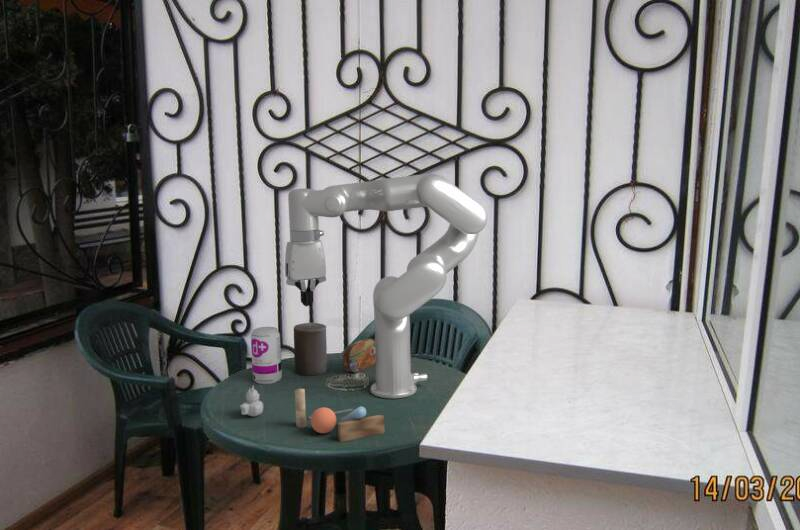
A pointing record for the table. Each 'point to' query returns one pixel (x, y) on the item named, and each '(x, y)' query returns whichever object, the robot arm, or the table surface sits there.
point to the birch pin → (300, 408)
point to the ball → (323, 420)
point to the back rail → (361, 428)
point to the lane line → (339, 412)
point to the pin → (355, 414)
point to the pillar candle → (310, 349)
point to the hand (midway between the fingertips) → (307, 305)
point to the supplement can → (266, 355)
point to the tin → (359, 355)
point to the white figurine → (252, 403)
